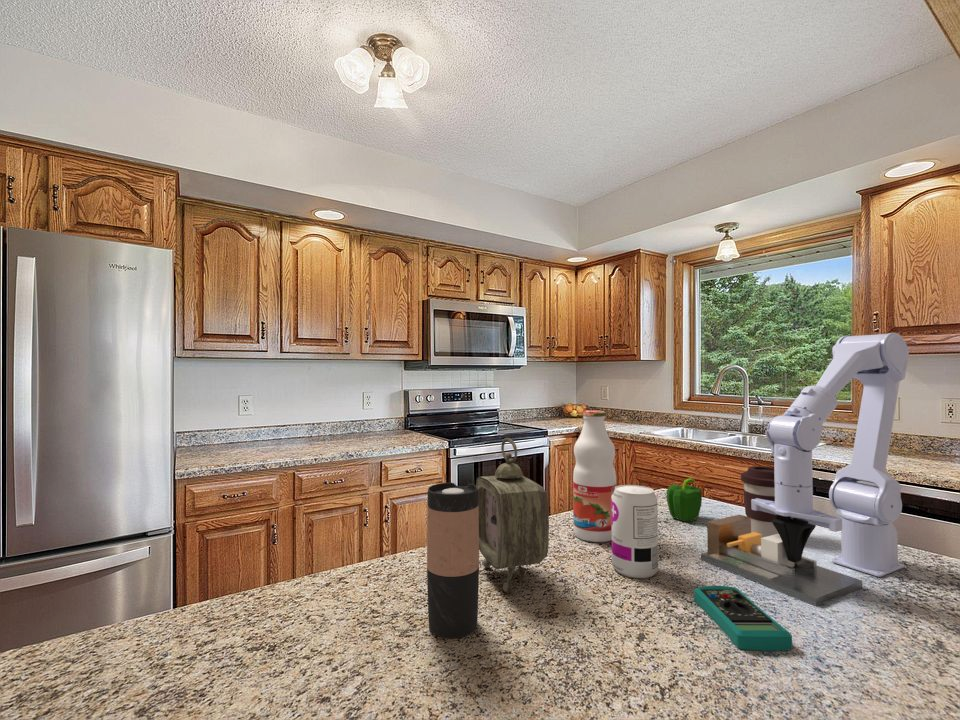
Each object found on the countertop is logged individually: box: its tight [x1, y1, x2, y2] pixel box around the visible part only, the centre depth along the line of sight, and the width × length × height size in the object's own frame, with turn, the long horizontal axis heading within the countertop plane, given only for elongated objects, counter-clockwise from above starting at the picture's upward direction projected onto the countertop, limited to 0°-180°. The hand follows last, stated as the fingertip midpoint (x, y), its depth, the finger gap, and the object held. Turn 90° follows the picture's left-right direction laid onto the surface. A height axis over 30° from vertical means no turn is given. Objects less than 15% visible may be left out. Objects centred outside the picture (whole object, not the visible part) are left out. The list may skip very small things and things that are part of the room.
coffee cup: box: [740, 465, 779, 538], centre depth 109 cm, size 10×10×15 cm
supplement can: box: [611, 484, 659, 579], centre depth 91 cm, size 8×8×15 cm
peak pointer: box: [727, 532, 762, 553], centre depth 93 cm, size 2×9×4 cm, turn 117°
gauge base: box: [700, 514, 863, 607], centre depth 89 cm, size 21×14×7 cm, turn 28°
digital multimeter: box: [693, 585, 793, 652], centre depth 72 cm, size 7×15×3 cm, turn 0°
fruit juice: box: [572, 409, 617, 543], centre depth 110 cm, size 9×9×28 cm
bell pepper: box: [666, 477, 703, 522], centre depth 122 cm, size 8×8×10 cm
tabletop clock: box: [475, 437, 550, 593], centre depth 88 cm, size 14×9×25 cm, turn 18°
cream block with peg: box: [751, 534, 794, 567], centre depth 90 cm, size 6×5×5 cm
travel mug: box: [426, 482, 480, 639], centre depth 71 cm, size 8×8×20 cm
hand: (794, 560), depth 86 cm, fingers closed
